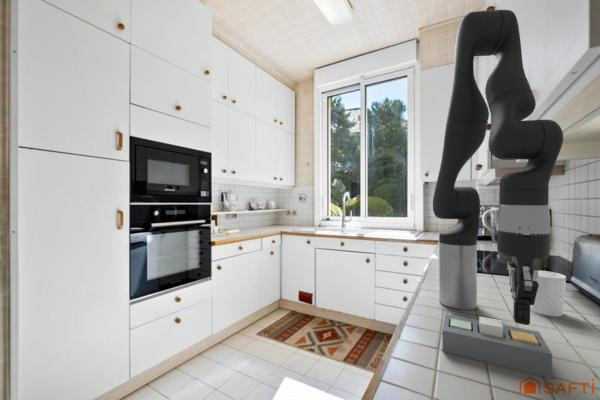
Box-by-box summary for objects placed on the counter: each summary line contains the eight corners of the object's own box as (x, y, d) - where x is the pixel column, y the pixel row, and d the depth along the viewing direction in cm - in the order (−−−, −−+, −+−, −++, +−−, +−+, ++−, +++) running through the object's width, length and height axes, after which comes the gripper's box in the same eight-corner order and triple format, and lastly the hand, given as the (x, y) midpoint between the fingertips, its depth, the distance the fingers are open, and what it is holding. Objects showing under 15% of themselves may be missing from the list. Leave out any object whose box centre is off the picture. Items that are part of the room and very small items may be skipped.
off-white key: (479, 326, 55) (479, 316, 55) (501, 330, 53) (500, 320, 53) (479, 333, 52) (479, 323, 52) (503, 338, 50) (503, 327, 50)
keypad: (445, 331, 61) (445, 313, 61) (539, 352, 52) (539, 331, 52) (442, 350, 53) (442, 330, 53) (552, 378, 45) (552, 354, 45)
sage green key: (450, 327, 58) (450, 318, 58) (470, 332, 56) (470, 322, 56) (450, 335, 55) (450, 325, 55) (471, 339, 53) (471, 329, 53)
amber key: (510, 340, 53) (509, 329, 53) (534, 345, 51) (534, 334, 51) (512, 348, 50) (512, 337, 50) (538, 354, 48) (538, 343, 48)
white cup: (524, 311, 72) (523, 273, 72) (527, 303, 78) (527, 268, 78) (565, 320, 66) (565, 279, 66) (566, 311, 72) (566, 273, 72)
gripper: (494, 225, 58) (493, 306, 58) (501, 232, 47) (500, 332, 47) (540, 227, 54) (539, 314, 54) (560, 235, 43) (559, 345, 43)
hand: (521, 322), depth 50 cm, fingers closed
